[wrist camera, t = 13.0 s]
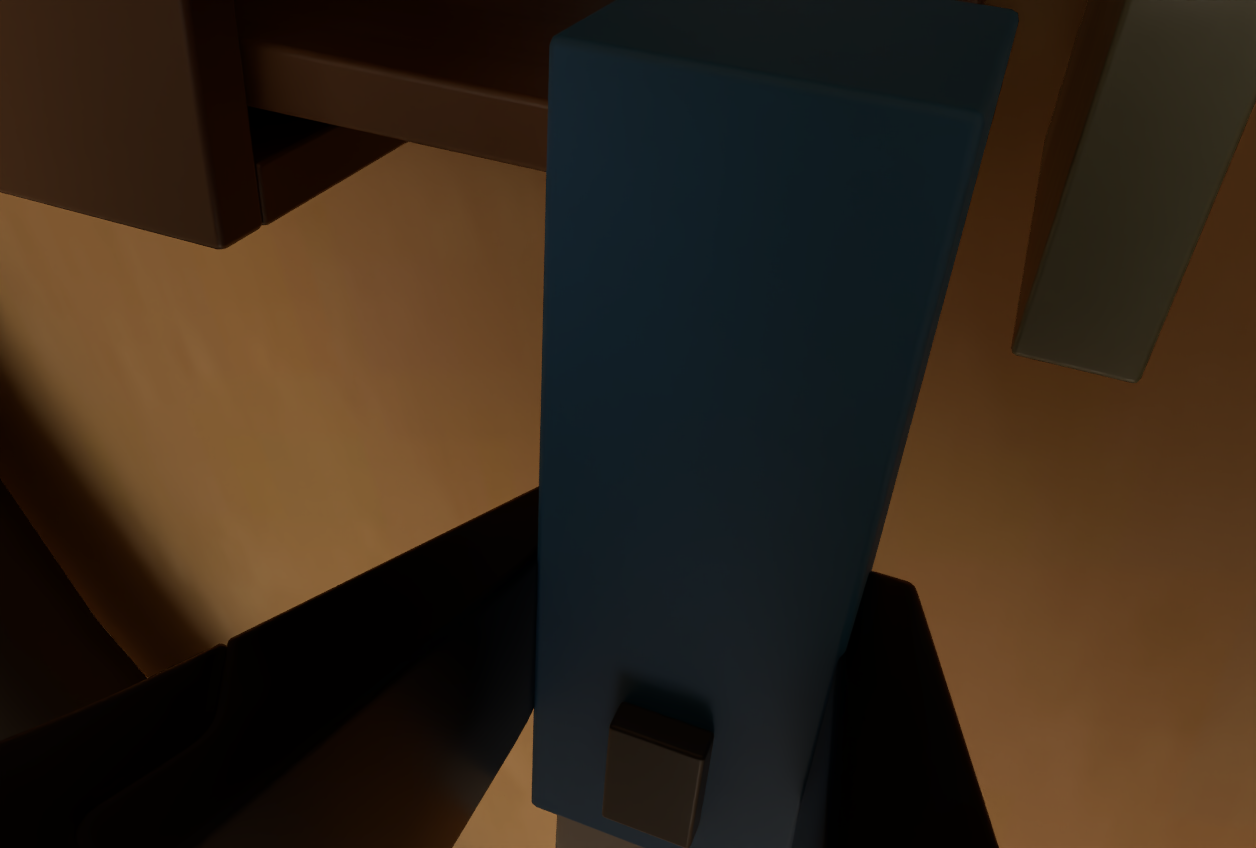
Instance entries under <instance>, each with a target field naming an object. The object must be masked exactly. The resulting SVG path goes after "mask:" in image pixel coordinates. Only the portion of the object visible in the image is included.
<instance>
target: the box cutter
mask: <svg viewBox="0 0 1256 848" xmlns="http://www.w3.org/2000/svg"><path fill="white" fill-rule="evenodd" d="M1018 22H1019V19H1018V13H1017V12H1015V11H1013V10H1012V9H1007V8H1001V7H994V6H988V5H981V4H975V3H968V2H962V1H955V0H615V1H613V2H611V3H610V4H608V5H606V6H605V7H603V8H601V9H599V10H598V11H596V12H594V13H593V14H591V15H589V16H587V17H586V18H584V19H582V20H580V21H579V22H577V23H575V24H574V25H572V26H570V27H568V28H567V29H565V30H563V31H561V32H560V33H558V34H556V35H555V36H553V38H552V40H551V42H550V46H549V84H548V127H547V170H546V212H545V255H544V298H543V340H542V383H541V426H540V469H539V511H538V554H537V561H538V580H537V620H536V660H535V701H534V725H533V768H532V803H533V804H534V805H535V806H536V807H539V808H541V809H544V810H546V811H549V812H552V813H554V814H557V829H556V848H792V843H793V838H794V832H795V826H796V821H797V816H798V812H799V808H800V804H801V800H802V796H803V793H804V789H805V785H806V781H807V777H808V773H809V770H810V766H811V762H812V758H813V754H814V751H815V747H816V743H817V739H818V735H819V731H820V728H821V724H822V720H823V716H824V712H825V709H826V705H827V701H828V697H829V693H830V689H831V686H832V682H833V678H834V674H835V670H836V667H837V663H838V660H839V658H840V657H841V656H842V655H843V654H844V653H845V651H846V649H847V645H848V642H849V639H850V635H851V632H852V629H853V625H854V622H855V619H856V615H857V612H858V608H859V605H860V602H861V598H862V595H863V592H864V588H865V585H866V582H867V578H868V575H869V572H870V571H872V567H873V564H874V560H875V556H876V552H877V549H878V545H879V541H880V538H881V534H882V530H883V526H884V523H885V519H886V515H887V511H888V508H889V504H890V500H891V496H892V493H893V489H894V485H895V482H896V478H897V474H898V470H899V467H900V463H901V459H902V455H903V452H904V448H905V444H906V440H907V437H908V433H909V429H910V425H911V422H912V418H913V414H914V411H915V407H916V403H917V399H918V396H919V392H920V388H921V384H922V381H923V377H924V373H925V369H926V366H927V362H928V358H929V355H930V351H931V347H932V343H933V340H934V336H935V332H936V328H937V325H938V321H939V317H940V313H941V310H942V306H943V302H944V299H945V295H946V291H947V287H948V284H949V280H950V276H951V272H952V269H953V265H954V261H955V257H956V254H957V250H958V246H959V242H960V239H961V235H962V231H963V228H964V224H965V220H966V216H967V213H968V209H969V205H970V201H971V198H972V194H973V190H974V186H975V183H976V179H977V175H978V172H979V168H980V164H981V160H982V157H983V153H984V149H985V145H986V142H987V138H988V134H989V130H990V127H991V123H992V119H993V116H994V112H995V108H996V104H997V101H998V97H999V93H1000V89H1001V86H1002V82H1003V78H1004V74H1005V71H1006V67H1007V63H1008V59H1009V56H1010V52H1011V48H1012V45H1013V41H1014V37H1015V33H1016V30H1017V26H1018Z"/></svg>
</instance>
